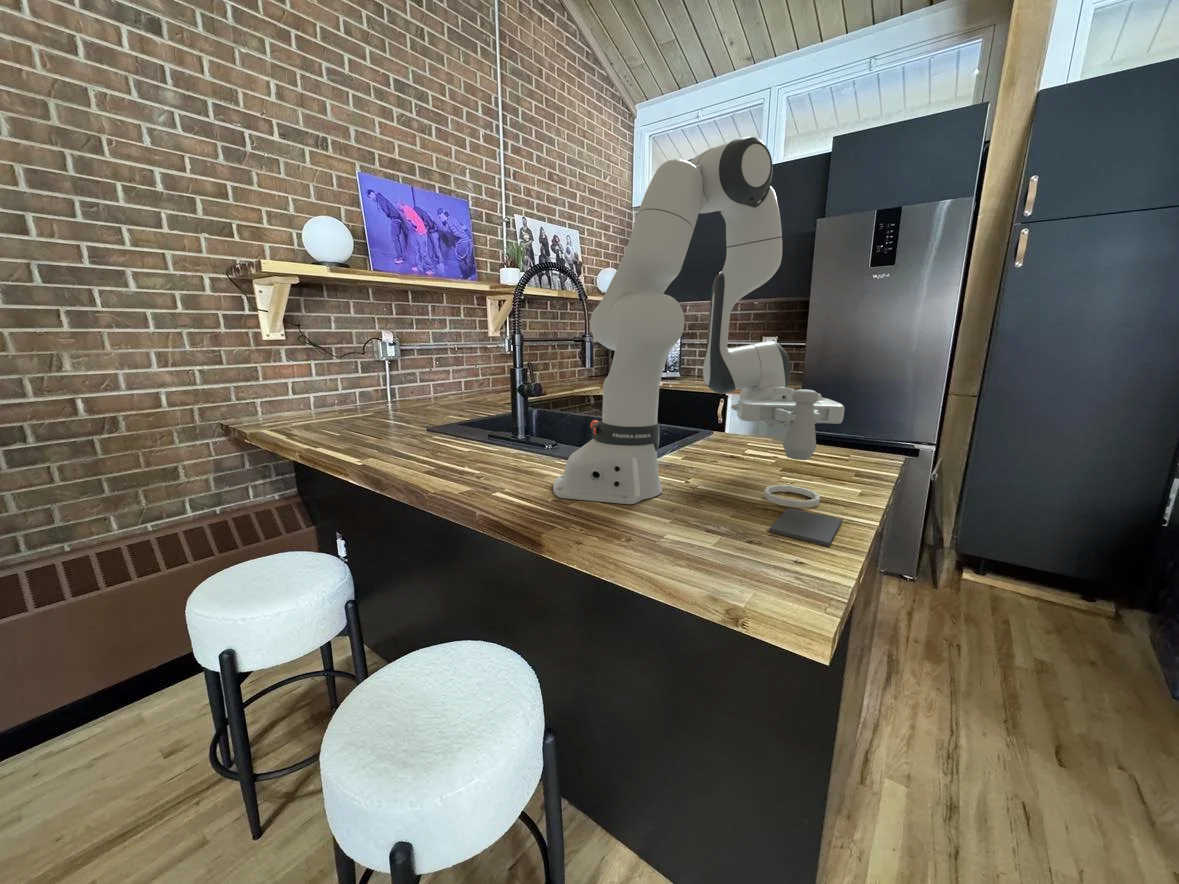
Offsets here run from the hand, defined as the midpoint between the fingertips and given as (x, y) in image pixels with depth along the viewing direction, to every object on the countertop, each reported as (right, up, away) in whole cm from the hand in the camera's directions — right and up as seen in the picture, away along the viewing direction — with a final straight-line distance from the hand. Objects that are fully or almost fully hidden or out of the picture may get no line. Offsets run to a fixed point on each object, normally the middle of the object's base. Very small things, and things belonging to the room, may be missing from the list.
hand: (804, 418), depth 88 cm
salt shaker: (0, -8, +3) cm, 8 cm away
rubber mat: (-3, -19, -8) cm, 21 cm away
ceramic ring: (0, -16, +6) cm, 17 cm away
